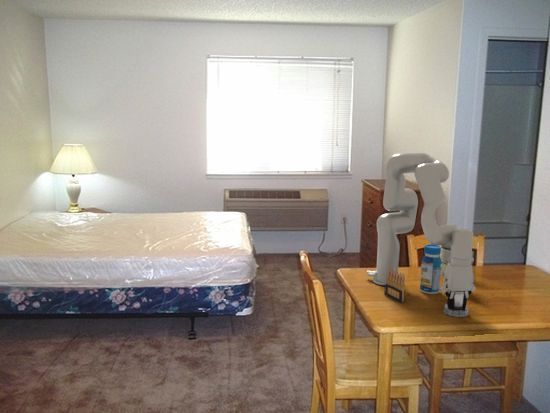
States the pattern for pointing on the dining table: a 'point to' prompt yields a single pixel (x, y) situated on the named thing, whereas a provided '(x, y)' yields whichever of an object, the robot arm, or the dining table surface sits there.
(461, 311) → the duct flange
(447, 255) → the coffee can
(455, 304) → the silver metal cylinder
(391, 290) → the ammunition clip
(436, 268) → the blue lidded canister
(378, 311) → the dining table surface
